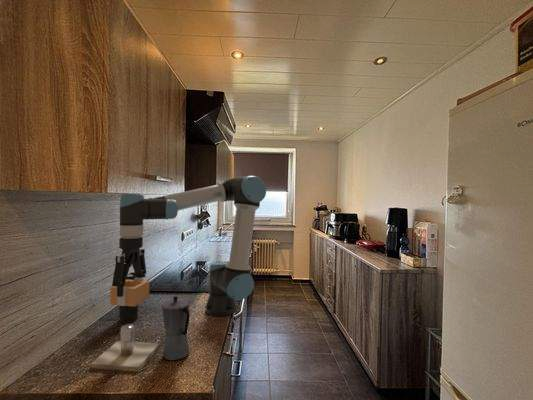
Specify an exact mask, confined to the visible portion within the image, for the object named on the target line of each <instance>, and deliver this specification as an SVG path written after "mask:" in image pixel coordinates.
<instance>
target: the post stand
mask: <svg viewBox="0 0 533 400" xmlns="http://www.w3.org/2000/svg"><path fill="white" fill-rule="evenodd" d="M160 346H161V345H160V343H157V342H144V341H143V342H142V341H141V342H140V341H138V342H137V341H135V325H134V324H132V323H126V324H124V325H122V326H121V327H120V340H117V341H116V342H114V344H112V345H111V346H110V347H109V348H107V349H106V350H105V351H104V352H103V353H102V354H100V355H99V356H98V357H97V358H96V359H94V360H93V361H92V362H91V363H90V369H97V370H108V371H110V370H111V371H121V372H122V371H123V372H136V373H137V372H138V373H139V372H140V371H141V370H142V369H143V367H145V365H146V364H147V363H148V361H149V360H150V359H151V358H152V357H153V356H154V355H155V353H157V351H158V350H159V349H160Z"/></svg>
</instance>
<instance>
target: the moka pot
mask: <svg viewBox="0 0 533 400" xmlns="http://www.w3.org/2000/svg"><path fill="white" fill-rule="evenodd" d="M189 303H190V302H188V300H181V299H179V298H178V296H173V300H172V299H171V300H166V301H165V302H164V303H163V304H161V310H162V317H163V318H162V319H163V325H164V326H163V327H164V332H165V335H164V345H163V353H162V357H163V359H165V360H167V361H177V360H182V359H184V358H185V357H187V356H188V355H189V354H190V344H189V338H188V327H189V322H190V304H189Z"/></svg>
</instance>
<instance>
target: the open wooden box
mask: <svg viewBox="0 0 533 400" xmlns="http://www.w3.org/2000/svg"><path fill="white" fill-rule="evenodd" d="M124 286H126V305H125V306H134V307H135V306H136V305H138V306H139V304H141V303H142V302H144V301H145V300H147V299H149V298H150V280H143V279H142V280H126V282H125V285H124ZM109 293H110V294H109V297H110V299H109V305H110V306H111V305H112V306H118V305H117V287H114V286H112V285H111V286H110V291H109Z"/></svg>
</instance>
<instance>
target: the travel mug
mask: <svg viewBox="0 0 533 400" xmlns="http://www.w3.org/2000/svg"><path fill="white" fill-rule="evenodd" d="M135 277H136V275H135V272H134V271H132V272H130V273H128V275H127V279H126V280H134V278H135ZM118 310H119V311H118V312H119V314H118V315H119V322H120V323H121V324H131V323H133V322H135V321H137V320H138V317H139V316H138V315H139V313H138V312H139V304H138V305H136V306H135V307H134V306H118Z"/></svg>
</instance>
